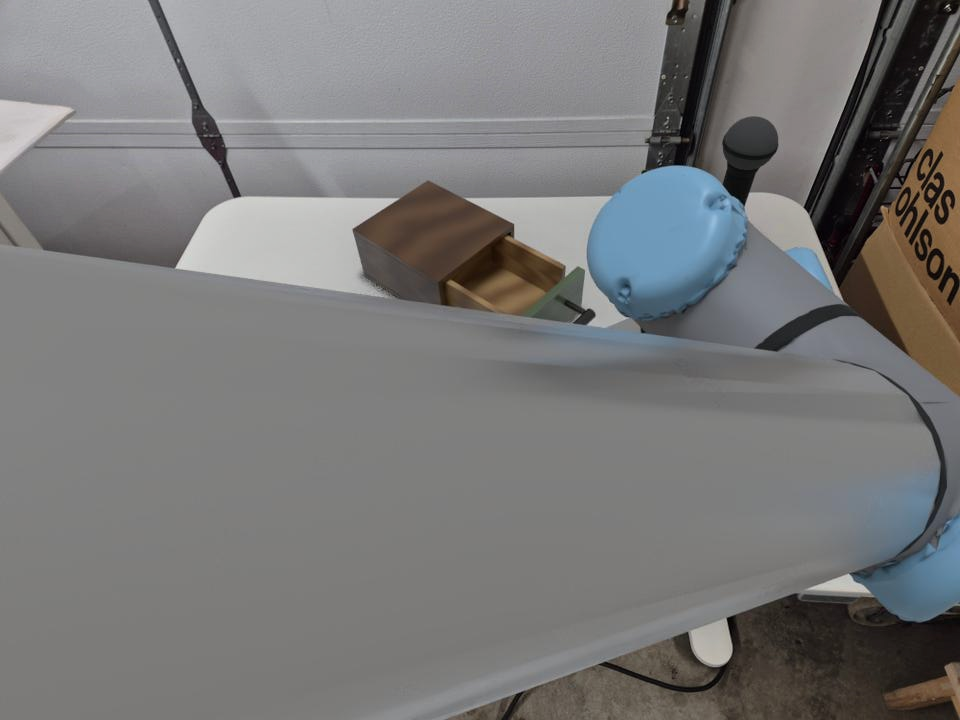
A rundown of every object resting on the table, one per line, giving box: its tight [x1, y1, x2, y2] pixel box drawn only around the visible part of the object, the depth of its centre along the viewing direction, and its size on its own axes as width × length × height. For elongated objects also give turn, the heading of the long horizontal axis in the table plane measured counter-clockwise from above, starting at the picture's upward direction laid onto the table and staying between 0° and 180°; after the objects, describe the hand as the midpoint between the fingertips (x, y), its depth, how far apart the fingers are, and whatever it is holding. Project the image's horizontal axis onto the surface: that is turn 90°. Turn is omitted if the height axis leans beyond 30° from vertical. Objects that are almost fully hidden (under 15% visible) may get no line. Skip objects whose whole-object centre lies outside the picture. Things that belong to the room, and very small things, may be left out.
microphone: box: [721, 115, 779, 208], centre depth 82 cm, size 7×7×20 cm
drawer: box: [443, 235, 597, 326], centre depth 79 cm, size 20×13×7 cm
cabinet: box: [351, 179, 515, 306], centre depth 86 cm, size 17×15×9 cm
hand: (404, 459), depth 56 cm, fingers open, 13 cm apart
